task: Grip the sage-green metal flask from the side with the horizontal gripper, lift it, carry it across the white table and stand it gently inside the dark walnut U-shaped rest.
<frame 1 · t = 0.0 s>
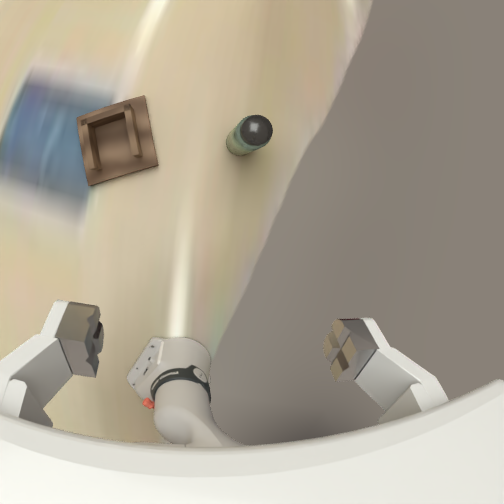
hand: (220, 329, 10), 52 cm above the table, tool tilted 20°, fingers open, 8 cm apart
flask: (239, 142, 58), on the table
u rest: (116, 140, 52), on the table
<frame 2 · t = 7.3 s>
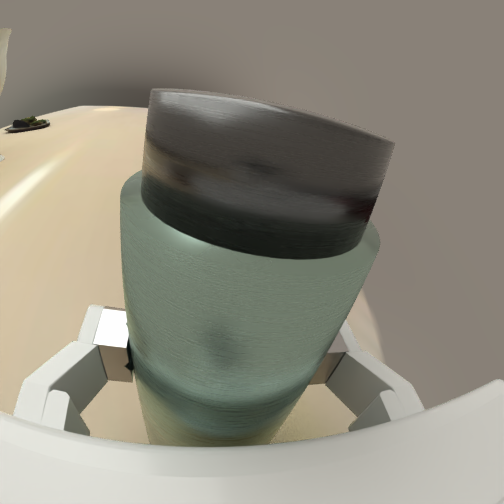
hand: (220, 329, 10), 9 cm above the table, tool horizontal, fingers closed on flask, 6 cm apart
flask: (202, 446, 13), on the table, touching gripper
salad plate: (28, 129, 74), on the table
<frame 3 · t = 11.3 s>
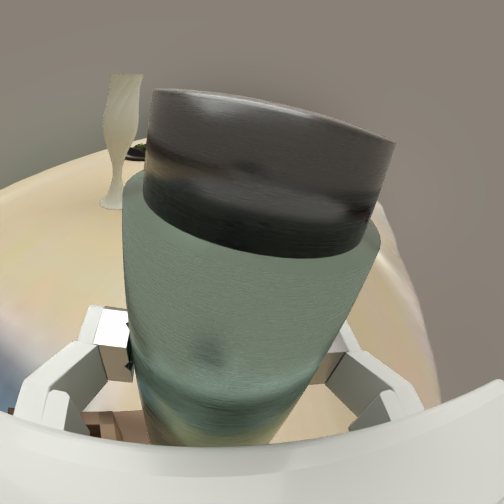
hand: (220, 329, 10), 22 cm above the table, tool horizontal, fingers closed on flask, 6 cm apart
flask: (203, 446, 13), point 13 cm above the table, touching gripper
salad plate: (142, 157, 101), on the table
u rest: (82, 484, 17), on the table
vase: (116, 202, 65), on the table
when the fingers open (12 cm above the table, at t = 15.3 s): flask drops 1 cm, resting on u rest.
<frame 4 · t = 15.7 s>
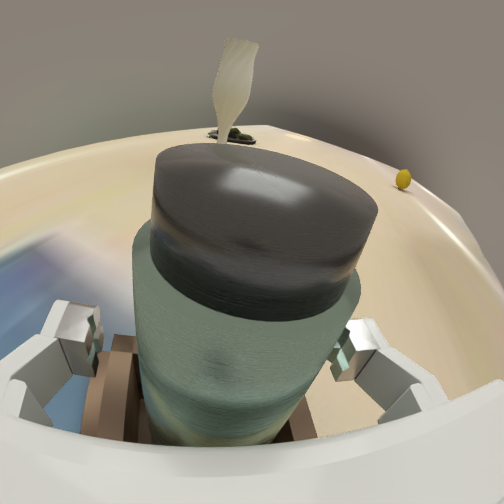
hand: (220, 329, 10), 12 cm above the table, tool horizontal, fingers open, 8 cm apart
flask: (202, 453, 14), point 2 cm above the table, touching u rest
salad plate: (231, 140, 104), on the table
u rest: (200, 461, 15), on the table
lemon: (399, 190, 95), on the table
vase: (216, 169, 66), on the table
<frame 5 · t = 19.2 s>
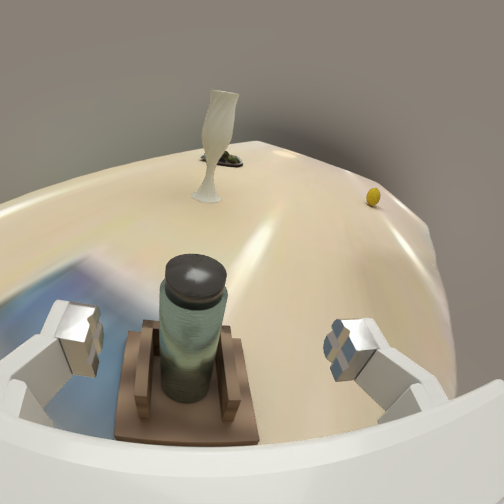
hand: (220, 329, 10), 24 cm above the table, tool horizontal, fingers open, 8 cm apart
flask: (185, 383, 31), point 2 cm above the table, touching u rest
salad plate: (221, 162, 121), on the table
u rest: (184, 389, 32), on the table
lemon: (369, 206, 113), on the table
vase: (206, 197, 83), on the table
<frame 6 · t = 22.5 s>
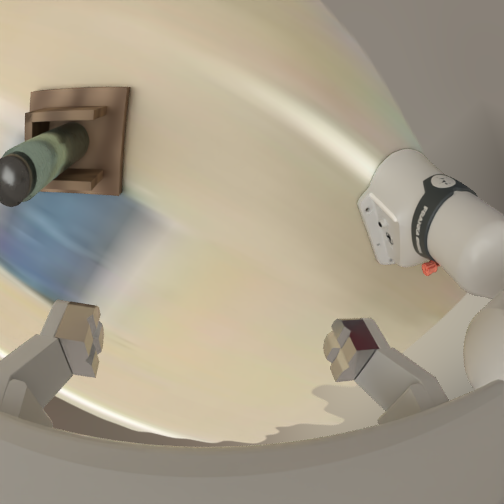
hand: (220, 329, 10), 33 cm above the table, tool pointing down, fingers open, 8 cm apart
flask: (71, 141, 32), point 2 cm above the table, touching u rest
u rest: (75, 139, 34), on the table
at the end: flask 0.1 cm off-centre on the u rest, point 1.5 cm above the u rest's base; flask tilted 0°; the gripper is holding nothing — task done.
